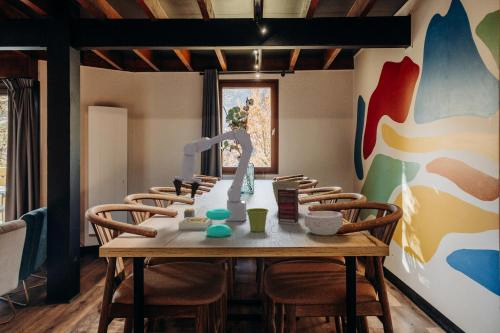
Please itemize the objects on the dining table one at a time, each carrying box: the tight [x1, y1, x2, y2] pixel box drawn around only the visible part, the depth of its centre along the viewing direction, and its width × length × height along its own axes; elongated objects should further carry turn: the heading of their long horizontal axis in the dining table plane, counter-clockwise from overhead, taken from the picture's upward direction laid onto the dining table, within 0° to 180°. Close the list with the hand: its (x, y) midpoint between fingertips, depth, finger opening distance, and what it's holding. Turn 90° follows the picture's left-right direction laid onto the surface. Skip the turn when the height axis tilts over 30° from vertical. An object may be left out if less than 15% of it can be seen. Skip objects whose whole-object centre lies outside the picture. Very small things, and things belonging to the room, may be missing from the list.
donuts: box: [205, 208, 232, 238], centre depth 141 cm, size 10×10×10 cm
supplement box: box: [277, 188, 300, 225], centre depth 161 cm, size 9×5×16 cm, turn 65°
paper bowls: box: [304, 210, 344, 236], centre depth 142 cm, size 15×15×8 cm
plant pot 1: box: [246, 207, 269, 233], centre depth 147 cm, size 9×9×9 cm
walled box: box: [178, 216, 213, 231], centre depth 156 cm, size 12×12×3 cm
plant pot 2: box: [271, 180, 300, 207], centre depth 192 cm, size 15×15×16 cm
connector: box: [183, 208, 196, 219], centre depth 168 cm, size 4×4×6 cm
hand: (185, 196), depth 168 cm, fingers open, 7 cm apart
